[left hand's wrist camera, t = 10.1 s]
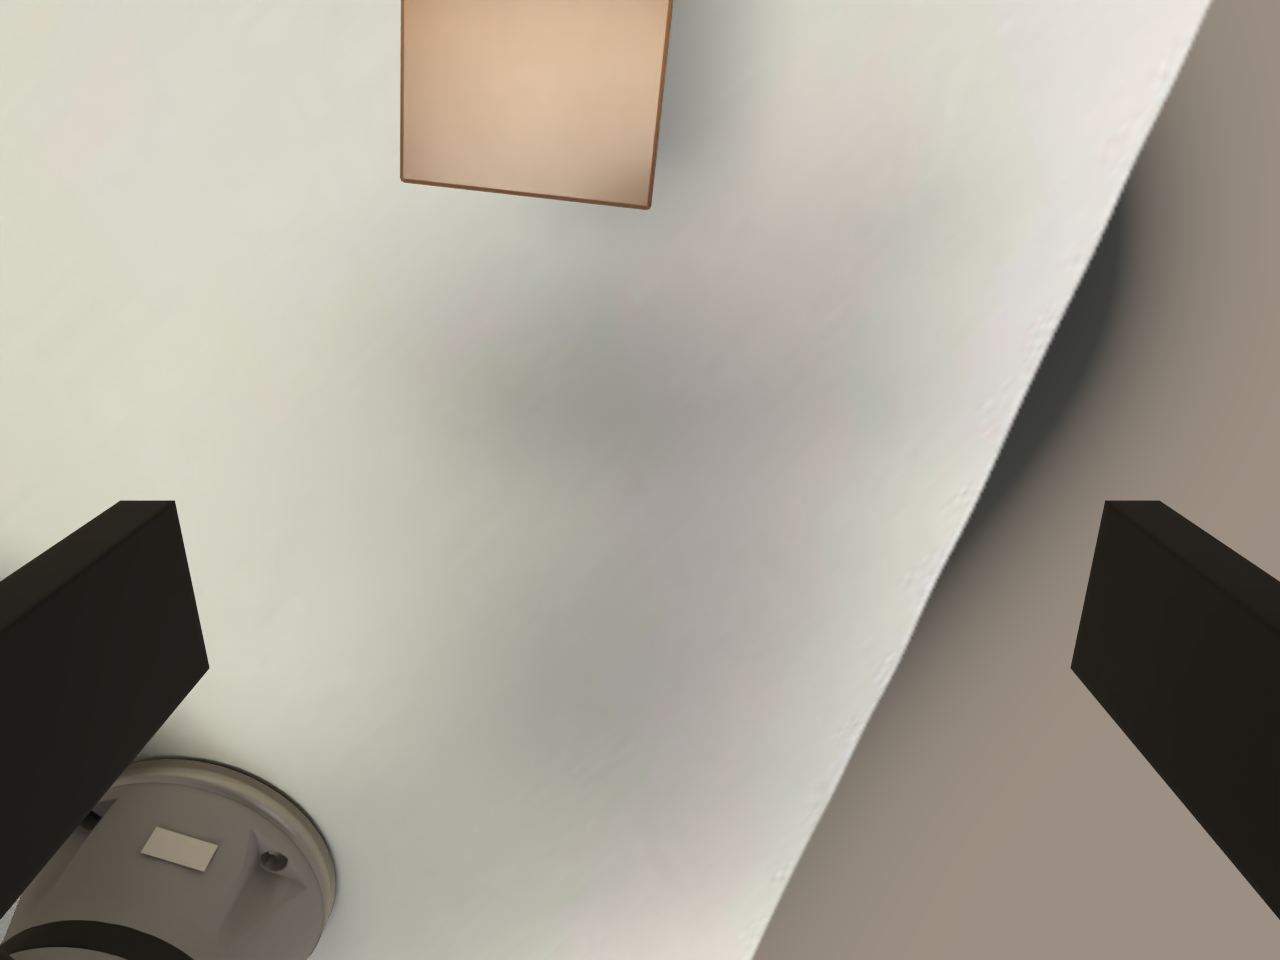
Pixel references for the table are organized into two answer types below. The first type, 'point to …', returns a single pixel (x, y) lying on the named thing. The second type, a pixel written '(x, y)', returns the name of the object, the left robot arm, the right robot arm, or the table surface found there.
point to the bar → (534, 97)
